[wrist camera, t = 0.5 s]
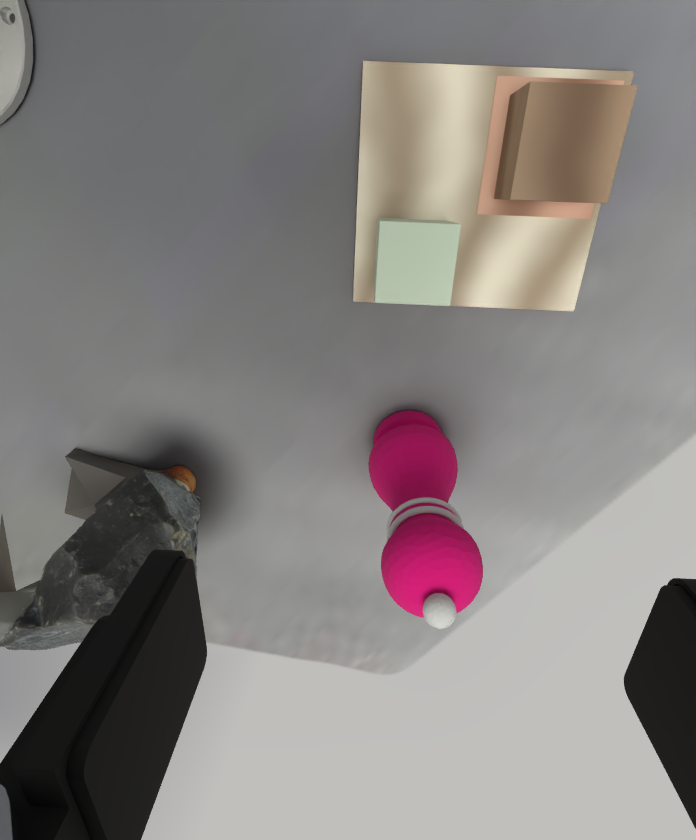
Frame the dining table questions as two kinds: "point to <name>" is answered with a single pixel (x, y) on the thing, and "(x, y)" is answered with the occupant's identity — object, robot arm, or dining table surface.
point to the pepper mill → (423, 520)
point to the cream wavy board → (466, 182)
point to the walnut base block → (563, 141)
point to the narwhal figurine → (98, 549)
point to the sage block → (415, 261)
